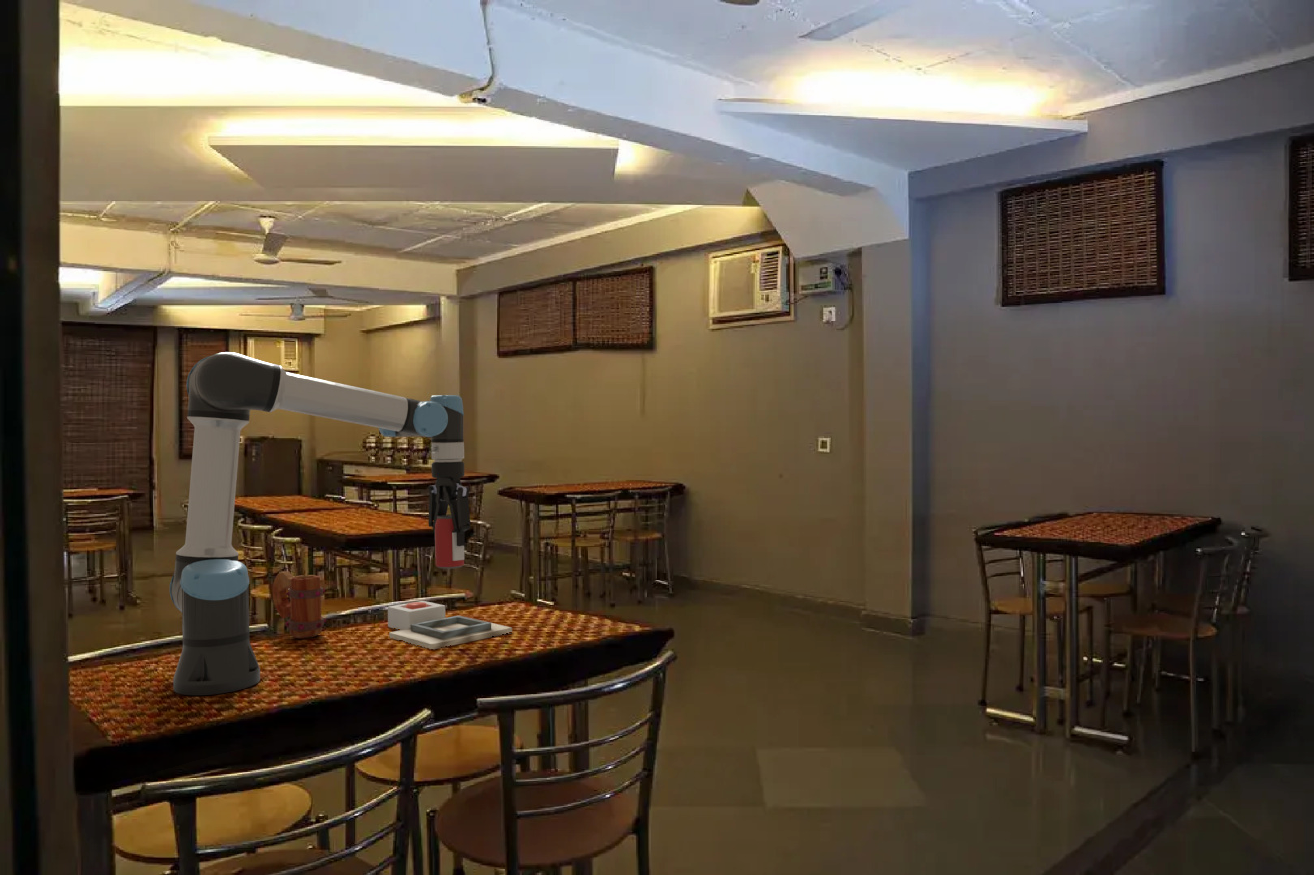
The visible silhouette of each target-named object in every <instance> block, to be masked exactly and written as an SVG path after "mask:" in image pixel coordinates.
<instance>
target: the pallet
mask: <svg viewBox="0 0 1314 875" xmlns="http://www.w3.org/2000/svg"><path fill="white" fill-rule="evenodd" d="M509 632H512V633H513V627H510V626H506V625H502V624H497V623H493V622H491V621H484V620H481V619H476V618H471V617H466V616H462V615H454V616H450V617H445V618H443V619H438V620H432V621H427V622H421V623H416V624H411V629H405V630H395V631H391V632H389V633H388V634H389V635H388V637H390V638H389V639H392V638H393V639H392V640H396V641H399V640H403V641H405V642H404V643H406V642H408V643H407V644H410V643H411V645H413V644H415V645H414V646H417V645H420V646H422V647H421V648H424V647H425V648H424V649H427V648H429V650H431V649H433V650H436V649H440V648H441V647H442V648H446V647H445V646H447V647H450V645H451V646H456V645H460V644H465V643H470V642H475V641H478V640H479V641H480V640H484V639H488V638H493V637H492V636H494V637H498V636H503V635H502V634H504V635H507V634H506V633H508V634H510V633H509ZM403 641H402V642H403ZM420 646H419V647H420ZM442 648H441V649H442Z"/></svg>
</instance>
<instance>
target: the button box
mask: <svg viewBox="0 0 1314 875" xmlns="http://www.w3.org/2000/svg"><path fill="white" fill-rule="evenodd" d="M414 602H415V601H413V602H412V603H414ZM418 602H424V603H426V607H424V608H418V609H408V608H406V604H408V603H409V602H408V603H407V602H406V603H403V604H401V603H400V604H395V605H390V606H387V627H388V628H391V629H394V628H396V629H395V630H398V629H400V630H405V629H411V624H416V623H421V622H427V621H432V620H438V619H443V618H446V605H444V604H439V603H435V602H432V601H431V602H430V601H425V600H419V601H418ZM400 630H399V631H400Z"/></svg>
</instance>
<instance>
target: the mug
mask: <svg viewBox="0 0 1314 875" xmlns="http://www.w3.org/2000/svg"><path fill="white" fill-rule="evenodd" d="M288 589H289V590H288ZM324 593H326V589H325V588H323V587H322V586H321V576H320V575H315V574H308V575H306V576H305V575H296V576H293V574H292V573H291V572H290V571H287V570H286V571H280V572H279V573H277V575H276V577H275V579H274V580H273V584H272V600H273V604H274V607H275V609H276V611H277V613H278V615H279V616H280V617H281V618H282V619H286V618H288V619H287V621H285V623H284V624H285V627H286V628H288V629H289V634H290V636H291V637H293V638H295V639H299V640H300V639H303V640H304V639H309V638H310V639H311V638H314V637H317V636H318V635H320V634H321V633H322V630H323V627H324V624H326V623H327V619H326V618H324V617H323V616H322V596H323V594H324ZM288 597H289V598H290V601H289V599H288Z"/></svg>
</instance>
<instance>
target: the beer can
mask: <svg viewBox="0 0 1314 875" xmlns="http://www.w3.org/2000/svg"><path fill="white" fill-rule="evenodd" d="M458 527H459V526H458ZM453 530H454V526H453V521H452V517H451V514H446V515H441V516H437V520H436V523H435V531H434V548H435V549H434V553H435V554H436V558H435V566H436V567H437V568H438V569H443V570H444V569H446V570H447V569H458V568H462V567H463V566H464V565H465V559H464V560H457V561H453V549H452V531H453Z"/></svg>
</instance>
